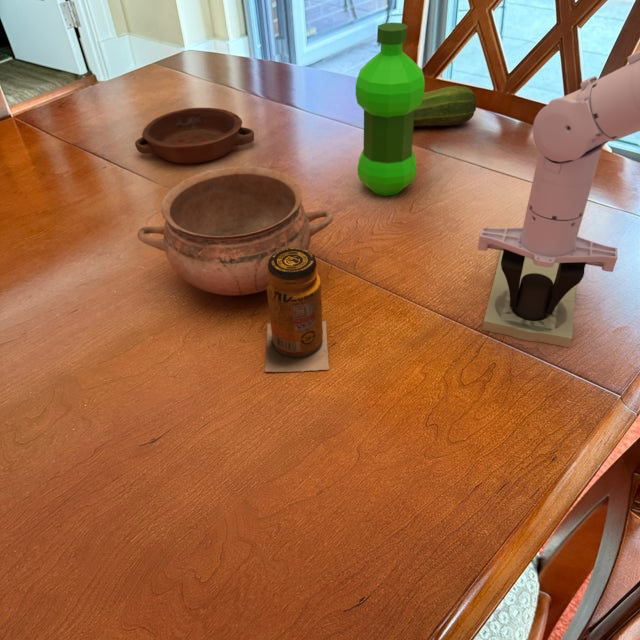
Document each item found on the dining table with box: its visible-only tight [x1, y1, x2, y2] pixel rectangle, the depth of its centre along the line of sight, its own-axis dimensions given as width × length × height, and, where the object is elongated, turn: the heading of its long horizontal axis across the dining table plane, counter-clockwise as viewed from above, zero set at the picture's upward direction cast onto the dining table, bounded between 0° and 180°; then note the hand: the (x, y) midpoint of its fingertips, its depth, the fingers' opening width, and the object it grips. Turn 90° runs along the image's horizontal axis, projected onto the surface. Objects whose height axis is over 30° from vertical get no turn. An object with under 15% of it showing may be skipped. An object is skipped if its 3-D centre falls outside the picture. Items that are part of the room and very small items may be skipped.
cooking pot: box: [137, 166, 334, 297], centre depth 78 cm, size 25×19×12 cm
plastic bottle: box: [355, 22, 426, 197], centre depth 92 cm, size 10×10×25 cm
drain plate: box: [481, 250, 577, 348], centre depth 77 cm, size 20×10×2 cm, turn 160°
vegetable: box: [413, 85, 478, 128], centre depth 116 cm, size 7×7×20 cm
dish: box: [134, 107, 255, 164], centre depth 112 cm, size 18×22×5 cm
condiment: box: [264, 248, 330, 373], centre depth 67 cm, size 7×8×12 cm
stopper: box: [513, 273, 553, 321], centre depth 72 cm, size 4×4×5 cm
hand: (531, 305), depth 72 cm, fingers closed on stopper, 3 cm apart
